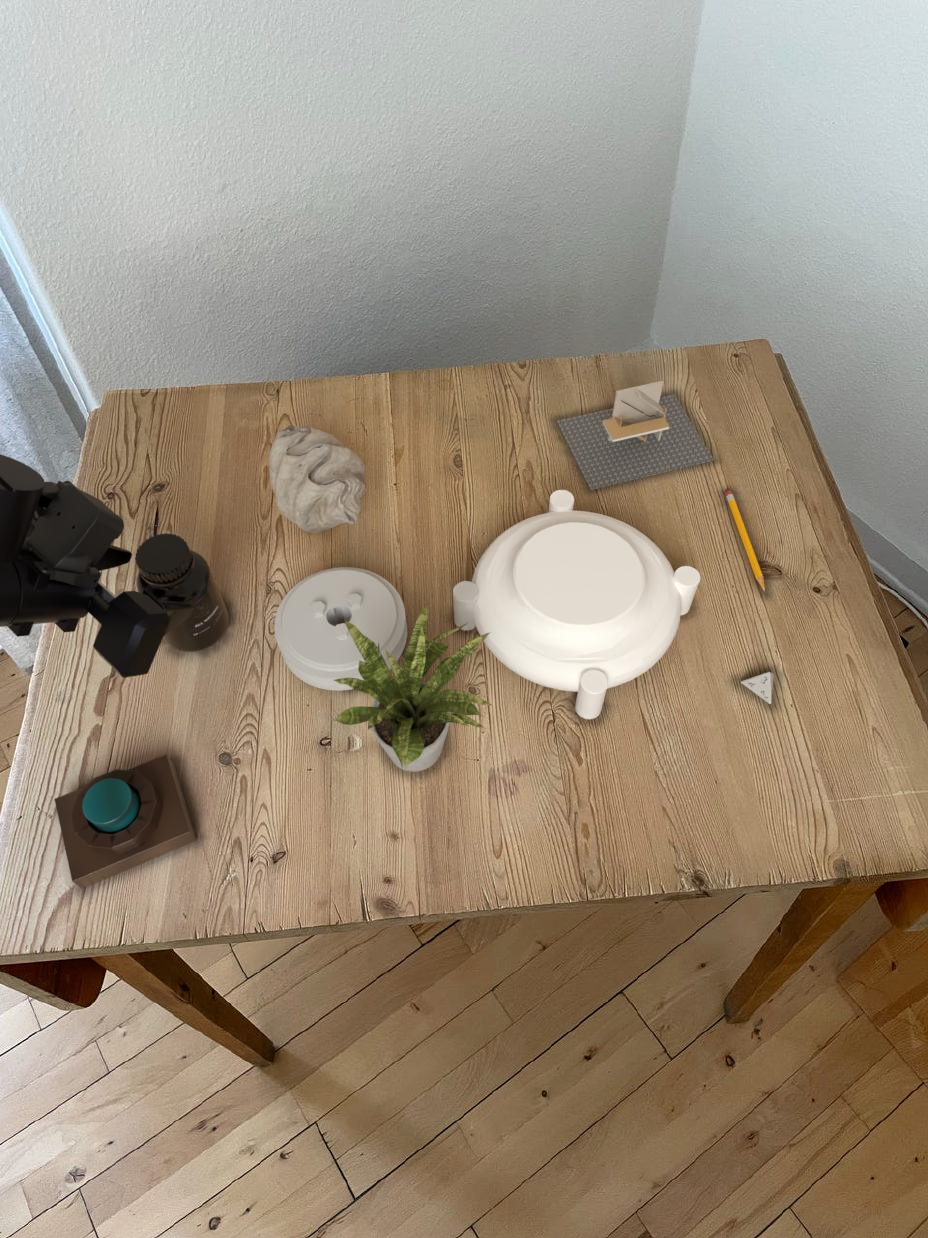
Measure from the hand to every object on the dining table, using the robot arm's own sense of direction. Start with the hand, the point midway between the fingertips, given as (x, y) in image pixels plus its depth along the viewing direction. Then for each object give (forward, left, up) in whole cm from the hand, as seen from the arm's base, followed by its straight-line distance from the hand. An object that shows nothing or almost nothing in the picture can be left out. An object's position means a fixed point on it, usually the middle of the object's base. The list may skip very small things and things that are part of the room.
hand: (159, 583), depth 80 cm
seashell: (+18, +10, -9) cm, 22 cm away
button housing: (-10, -17, -9) cm, 22 cm away
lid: (+14, -7, -9) cm, 18 cm away
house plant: (+16, -22, -9) cm, 29 cm away
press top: (-10, -17, -5) cm, 21 cm away
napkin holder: (+54, +4, -9) cm, 55 cm away
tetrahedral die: (+48, -29, -9) cm, 57 cm away
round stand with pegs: (+36, -14, -9) cm, 40 cm away
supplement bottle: (+1, +1, -9) cm, 9 cm away
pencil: (+57, -14, -9) cm, 60 cm away
